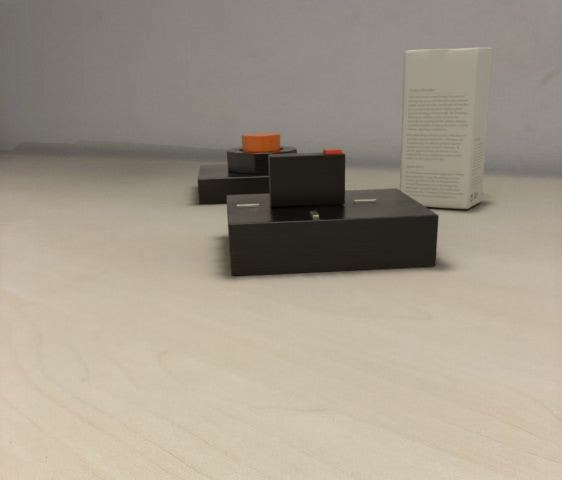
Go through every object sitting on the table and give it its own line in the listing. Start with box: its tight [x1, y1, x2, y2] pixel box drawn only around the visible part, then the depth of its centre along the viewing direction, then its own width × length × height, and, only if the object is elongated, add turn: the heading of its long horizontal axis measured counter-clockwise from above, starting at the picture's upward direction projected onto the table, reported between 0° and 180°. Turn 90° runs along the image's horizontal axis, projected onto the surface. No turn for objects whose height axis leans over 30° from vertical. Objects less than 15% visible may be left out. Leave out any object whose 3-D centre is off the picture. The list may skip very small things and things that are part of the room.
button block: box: [197, 145, 298, 205], centre depth 67 cm, size 12×10×4 cm
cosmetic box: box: [399, 46, 494, 210], centre depth 57 cm, size 6×4×12 cm
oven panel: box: [226, 187, 440, 277], centre depth 45 cm, size 12×10×3 cm
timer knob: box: [268, 147, 346, 207], centre depth 43 cm, size 5×1×3 cm, turn 95°
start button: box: [241, 131, 282, 152], centre depth 66 cm, size 4×4×2 cm
